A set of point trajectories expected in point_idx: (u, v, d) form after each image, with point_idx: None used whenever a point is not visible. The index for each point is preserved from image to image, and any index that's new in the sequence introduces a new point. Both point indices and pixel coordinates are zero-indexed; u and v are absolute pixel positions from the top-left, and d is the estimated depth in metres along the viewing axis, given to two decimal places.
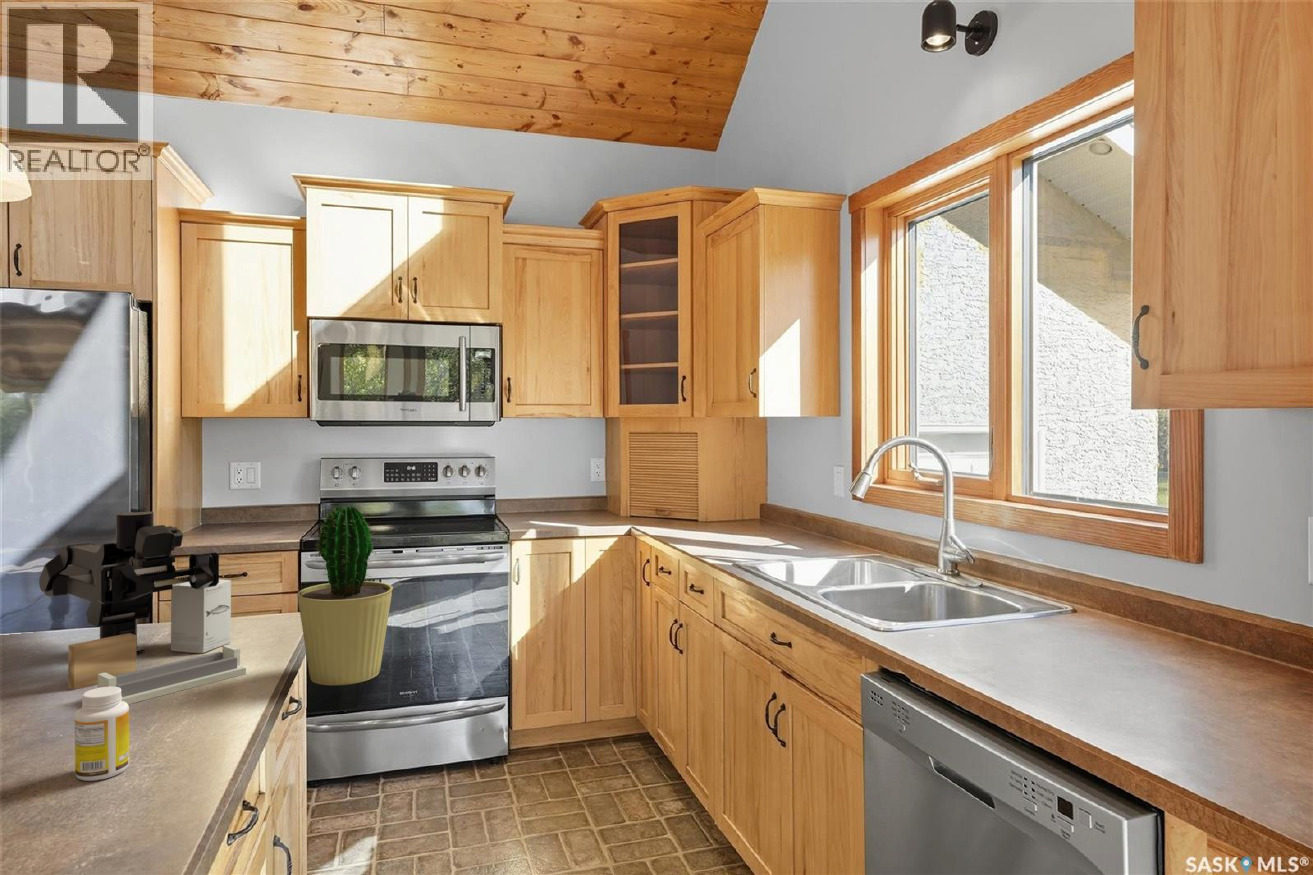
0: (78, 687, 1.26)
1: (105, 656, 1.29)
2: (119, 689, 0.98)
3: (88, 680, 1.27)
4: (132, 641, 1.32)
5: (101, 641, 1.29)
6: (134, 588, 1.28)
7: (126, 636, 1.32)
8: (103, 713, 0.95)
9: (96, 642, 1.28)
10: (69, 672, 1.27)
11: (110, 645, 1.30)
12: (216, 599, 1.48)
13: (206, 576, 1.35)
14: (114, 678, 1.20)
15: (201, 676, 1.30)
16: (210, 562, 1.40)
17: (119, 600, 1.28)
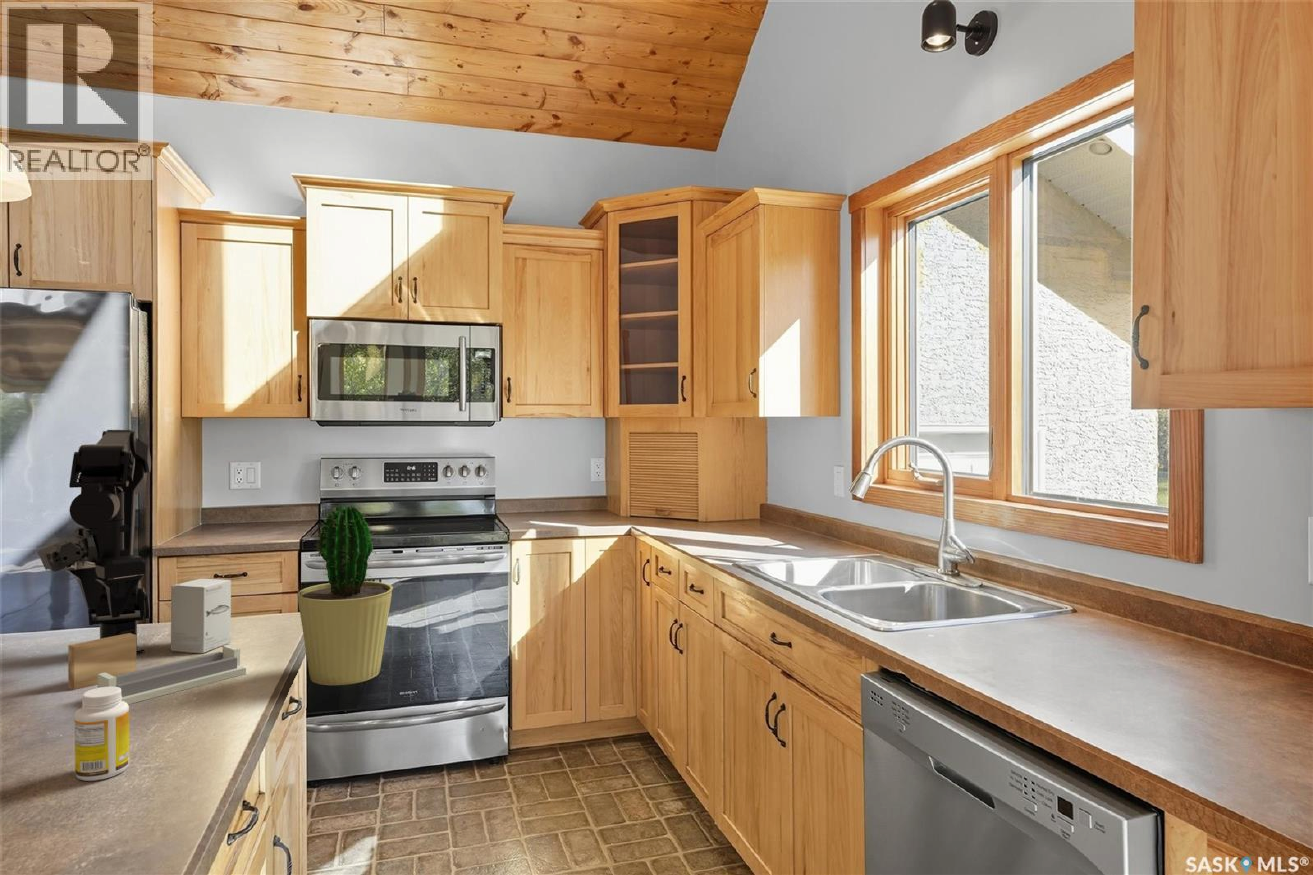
0: (78, 687, 1.26)
1: (105, 656, 1.29)
2: (119, 689, 0.98)
3: (88, 680, 1.27)
4: (132, 641, 1.32)
5: (101, 641, 1.29)
6: None
7: (126, 636, 1.32)
8: (103, 713, 0.95)
9: (96, 642, 1.28)
10: (69, 672, 1.27)
11: (110, 645, 1.30)
12: (216, 599, 1.48)
13: None
14: (114, 678, 1.20)
15: (201, 676, 1.30)
16: (111, 581, 1.24)
17: None
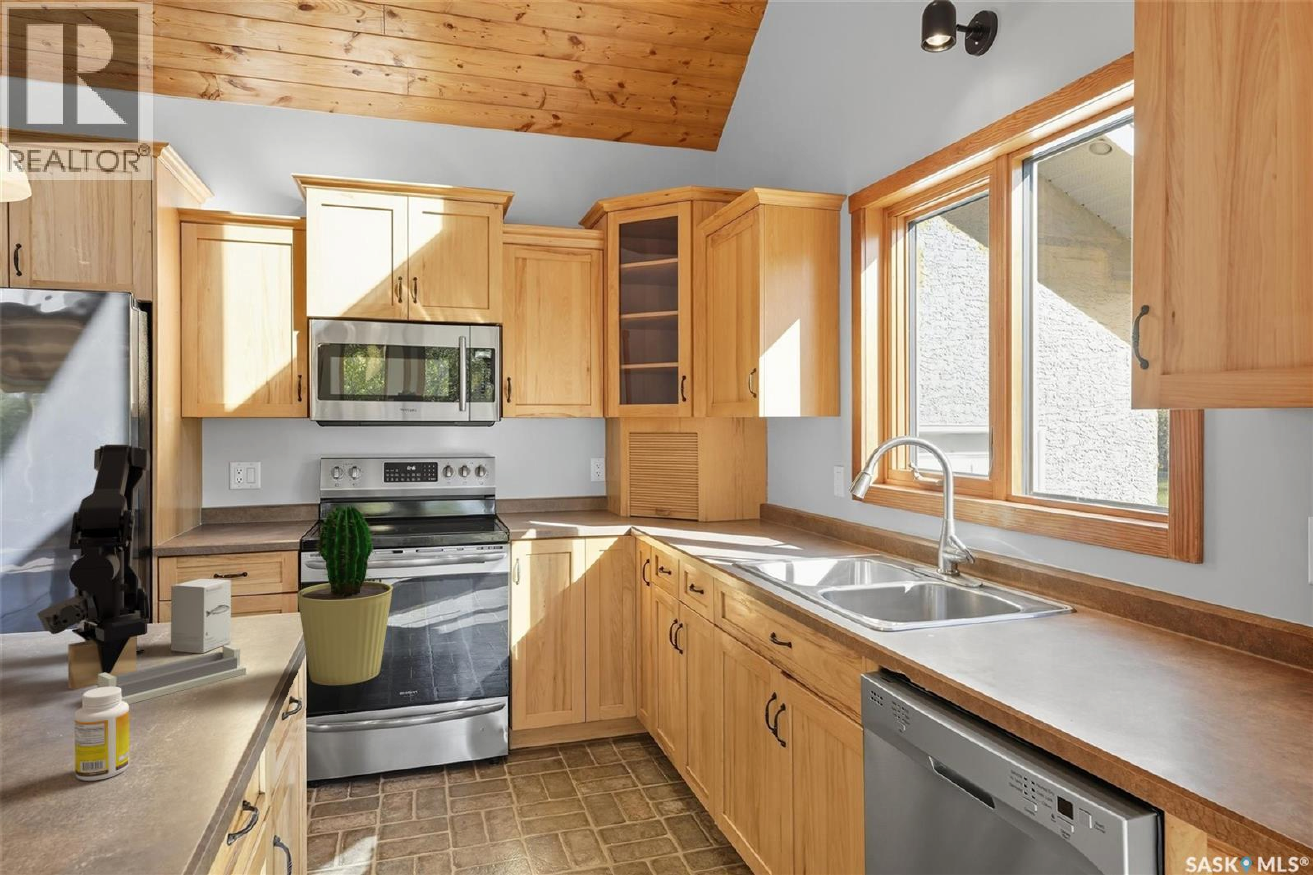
0: (78, 687, 1.26)
1: None
2: (119, 689, 0.98)
3: (88, 680, 1.27)
4: (132, 641, 1.32)
5: None
6: None
7: None
8: (103, 713, 0.95)
9: None
10: (69, 672, 1.27)
11: None
12: (216, 599, 1.48)
13: None
14: (114, 678, 1.20)
15: (201, 676, 1.30)
16: None
17: None
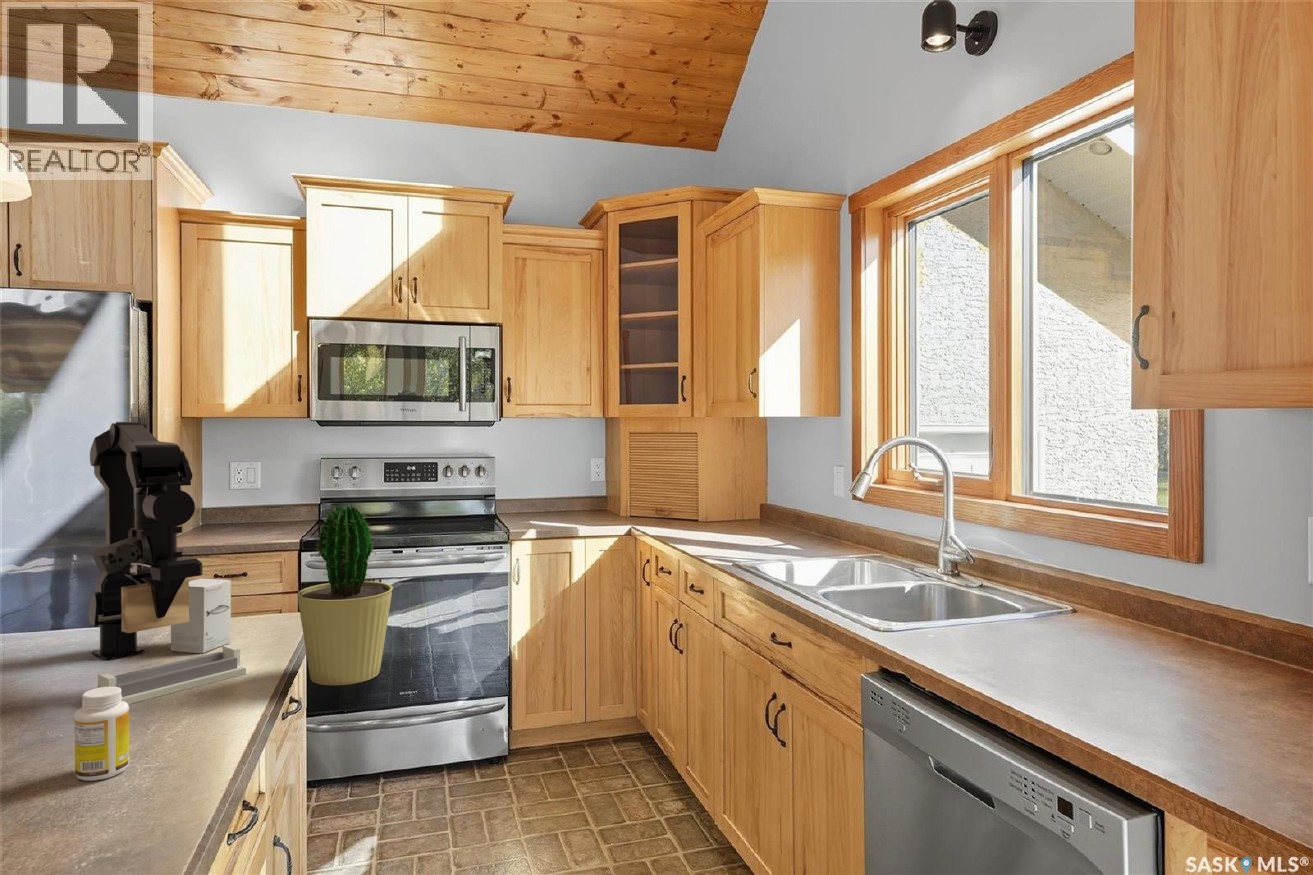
0: (132, 630, 1.23)
1: None
2: (119, 689, 0.98)
3: (141, 623, 1.24)
4: (184, 585, 1.29)
5: None
6: None
7: None
8: (103, 713, 0.95)
9: None
10: (122, 615, 1.23)
11: None
12: (216, 599, 1.48)
13: None
14: (114, 678, 1.20)
15: (201, 676, 1.30)
16: (157, 581, 1.23)
17: None
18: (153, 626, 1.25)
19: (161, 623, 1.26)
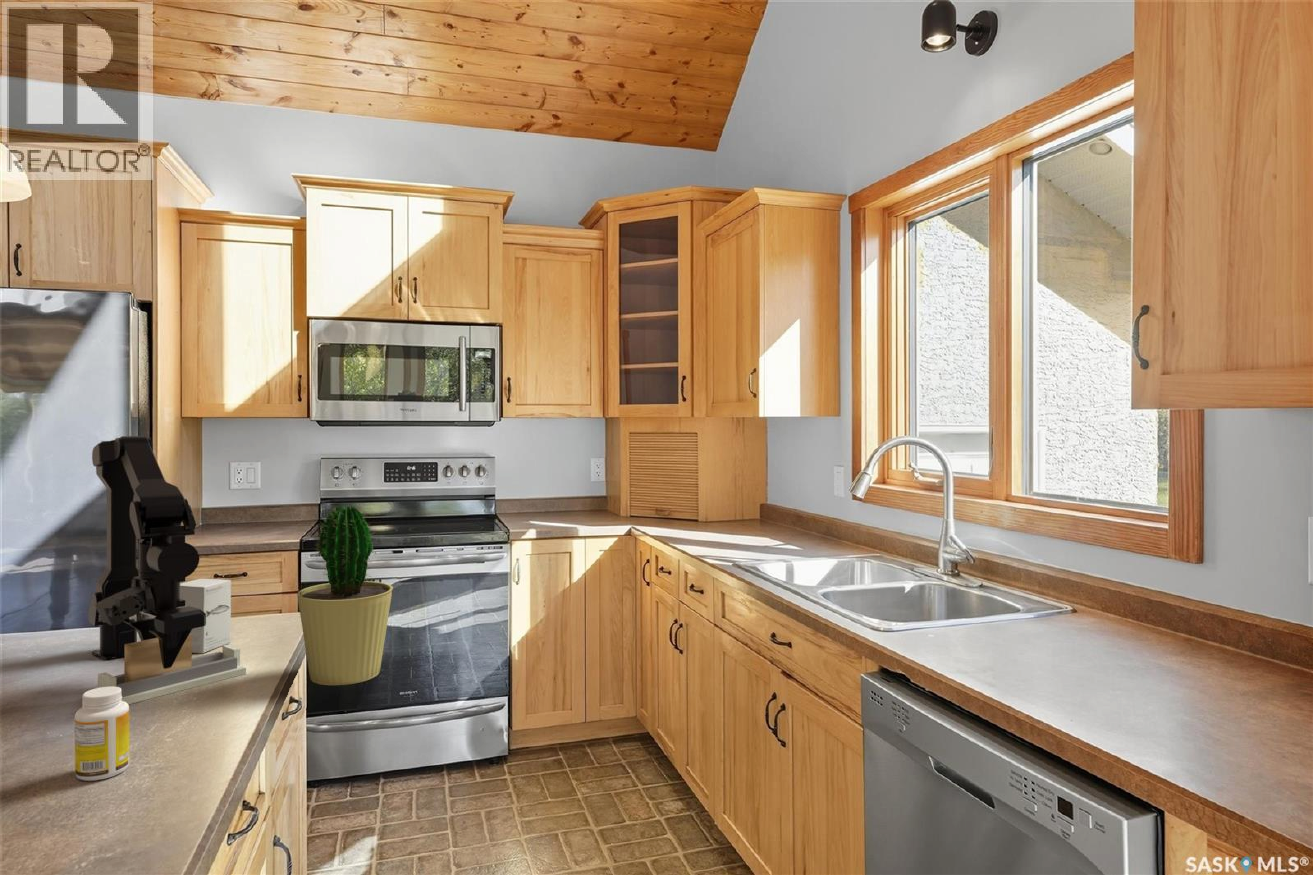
0: None
1: None
2: (119, 689, 0.98)
3: None
4: (187, 641, 1.29)
5: (157, 641, 1.26)
6: None
7: None
8: (103, 713, 0.95)
9: (152, 642, 1.25)
10: (125, 672, 1.24)
11: None
12: (216, 599, 1.48)
13: None
14: (114, 678, 1.20)
15: (201, 676, 1.30)
16: (165, 633, 1.22)
17: None
18: None
19: None
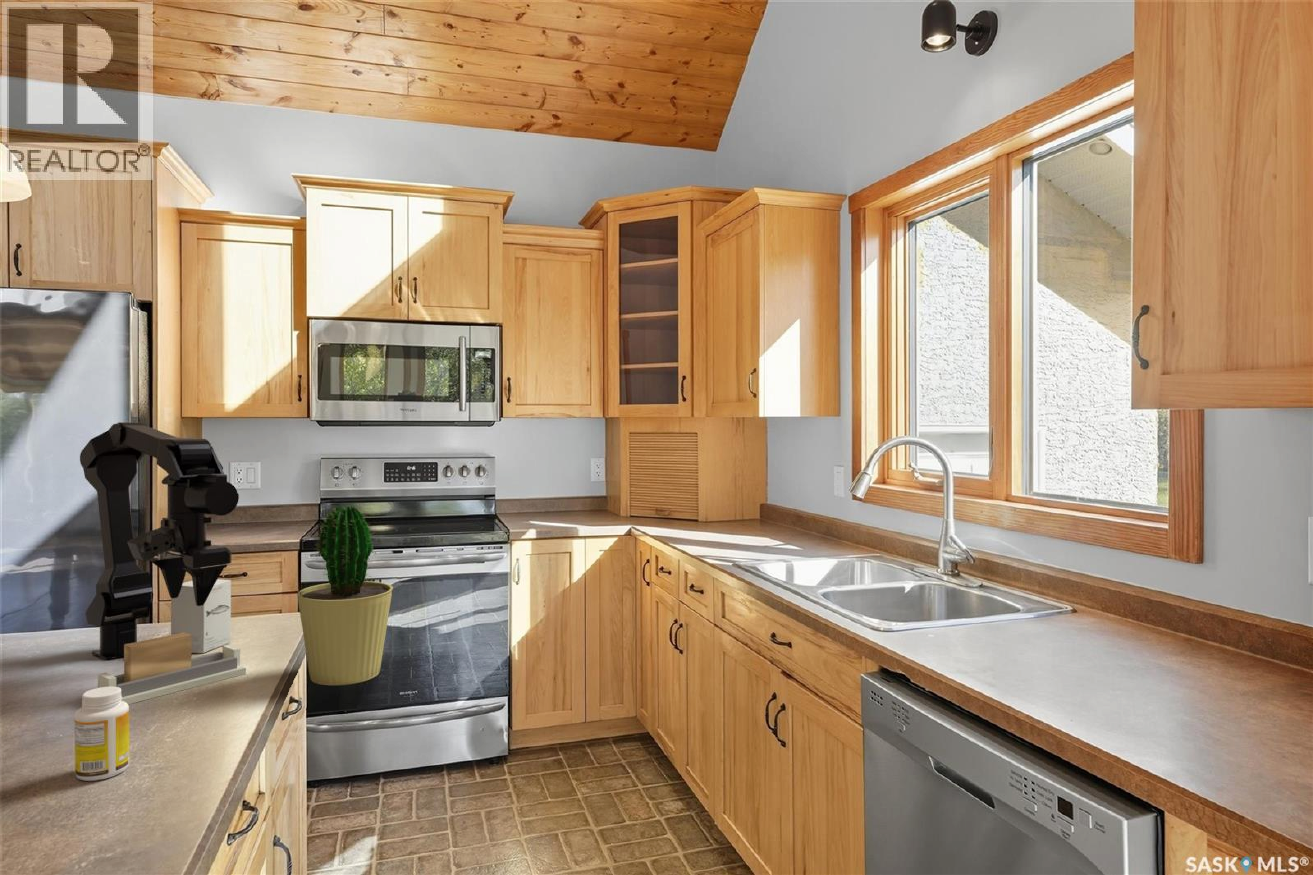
0: None
1: (161, 656, 1.26)
2: (119, 689, 0.98)
3: None
4: (187, 641, 1.29)
5: (157, 641, 1.26)
6: None
7: (181, 635, 1.29)
8: (103, 713, 0.95)
9: (152, 642, 1.25)
10: (125, 672, 1.24)
11: (165, 645, 1.27)
12: (216, 599, 1.48)
13: None
14: (114, 678, 1.20)
15: (201, 676, 1.30)
16: None
17: None
18: None
19: None
